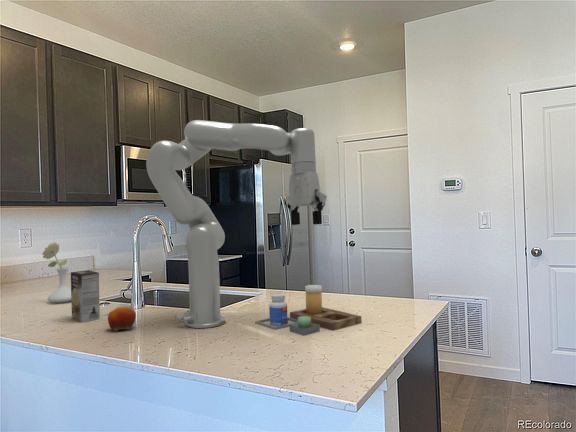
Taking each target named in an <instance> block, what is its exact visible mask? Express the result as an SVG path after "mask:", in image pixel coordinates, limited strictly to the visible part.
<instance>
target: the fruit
mask: <svg viewBox="0 0 576 432" xmlns="http://www.w3.org/2000/svg"><path fill="white" fill-rule="evenodd" d="M136 317H137V313H136V311H135V309H133V308H132V307H128V306H118V307H116V308H114V309H112V310H111V311H110V312H108V313H107V322H108V325H109V328H110V329H111V330H112V331H115V332H118V331H122V330H129V331H131V329H130V328H132V327H133V325H134V324H135V321H136Z"/></svg>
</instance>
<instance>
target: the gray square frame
mask: <svg viewBox="0 0 576 432" xmlns="http://www.w3.org/2000/svg"><path fill="white" fill-rule="evenodd" d="M287 321H289V322H290V323H287V324H286V325H282V326H273V325H270V324H268V323H267V322H270V317H268V318H264V319H259V320H255V321H254V323H255V324H256V325H259V326H262V327H265V328H269V329H271V330H274V331H276V330H277V331H278V330H279V329H285V328H290V326H289V325H290V324H294V323H298V320H296V319H292V318H290V316H289V317H288V316H287ZM265 322H266V323H265Z"/></svg>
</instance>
